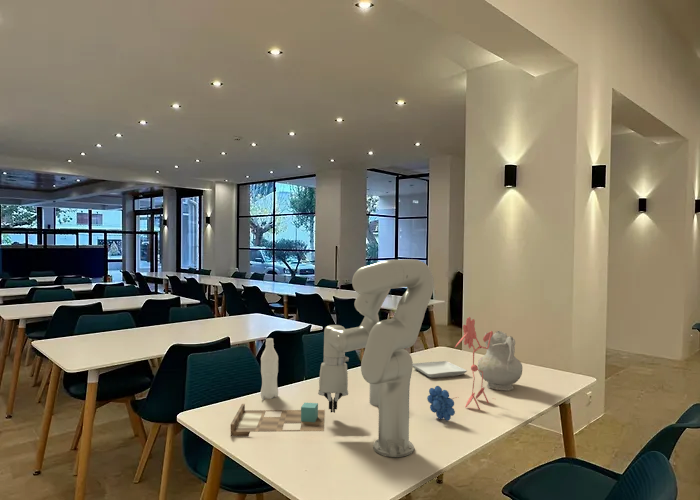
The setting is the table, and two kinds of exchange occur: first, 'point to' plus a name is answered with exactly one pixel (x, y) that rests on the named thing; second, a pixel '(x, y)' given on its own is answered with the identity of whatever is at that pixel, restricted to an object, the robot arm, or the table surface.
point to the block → (309, 412)
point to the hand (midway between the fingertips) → (332, 411)
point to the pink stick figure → (469, 336)
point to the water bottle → (269, 370)
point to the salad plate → (439, 369)
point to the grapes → (441, 403)
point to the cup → (374, 394)
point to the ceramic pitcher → (500, 363)
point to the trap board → (271, 421)
